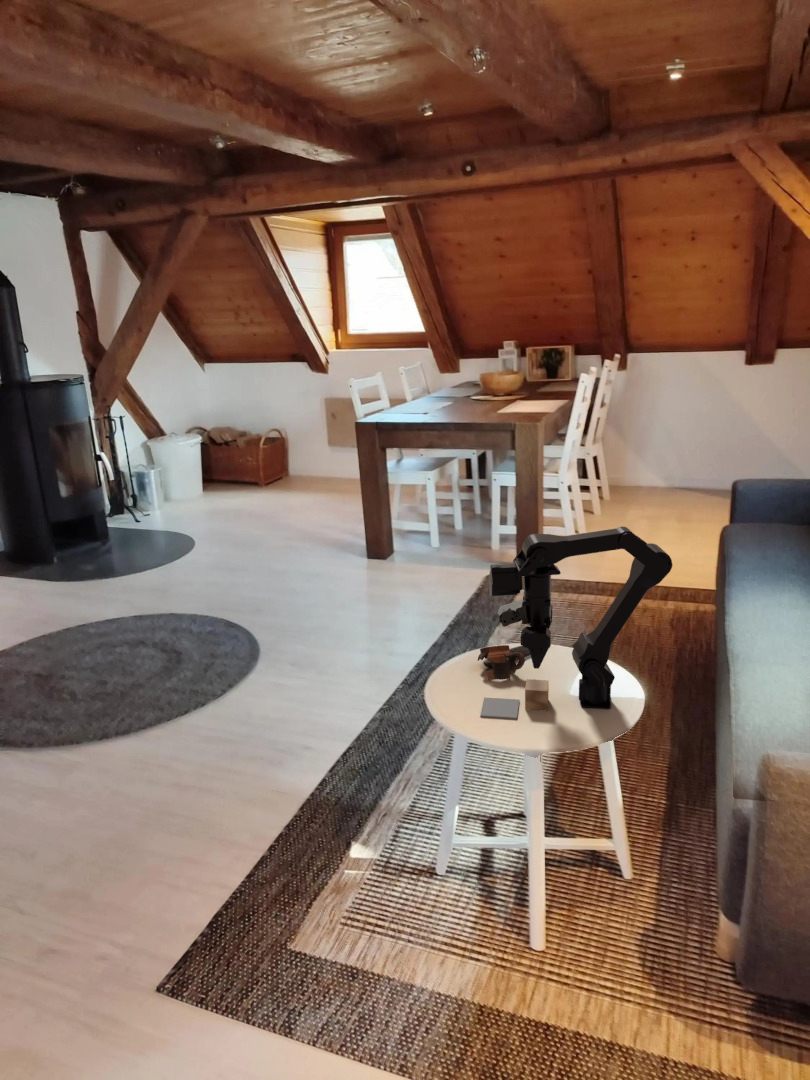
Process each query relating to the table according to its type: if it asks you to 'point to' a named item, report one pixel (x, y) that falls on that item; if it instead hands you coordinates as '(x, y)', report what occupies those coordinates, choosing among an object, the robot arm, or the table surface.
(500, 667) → the pottery mug
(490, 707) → the felt coaster
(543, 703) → the walnut block
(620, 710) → the table surface
